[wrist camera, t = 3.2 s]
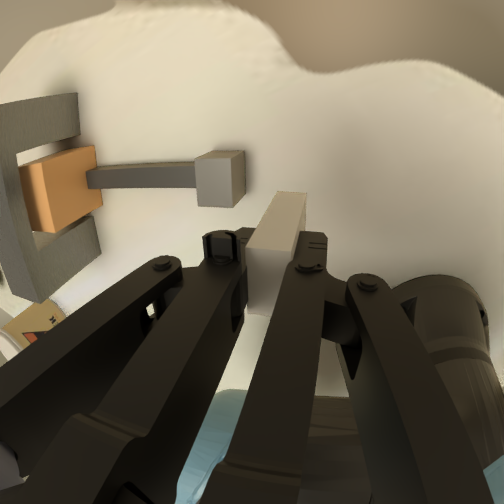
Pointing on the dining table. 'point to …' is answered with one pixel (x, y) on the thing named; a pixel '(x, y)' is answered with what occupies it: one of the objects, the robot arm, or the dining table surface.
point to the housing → (14, 209)
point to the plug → (121, 183)
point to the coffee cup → (29, 327)
